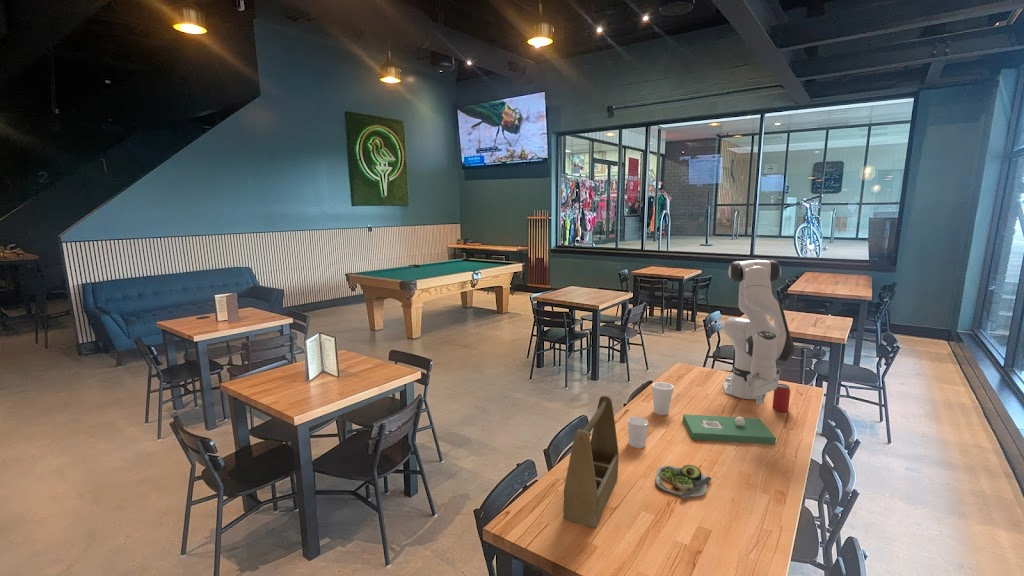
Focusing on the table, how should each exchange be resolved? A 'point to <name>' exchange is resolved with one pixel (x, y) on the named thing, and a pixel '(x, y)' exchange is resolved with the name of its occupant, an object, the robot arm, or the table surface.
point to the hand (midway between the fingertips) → (760, 403)
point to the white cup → (637, 431)
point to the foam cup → (662, 397)
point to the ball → (739, 421)
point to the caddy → (592, 468)
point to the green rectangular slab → (727, 429)
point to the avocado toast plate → (683, 480)
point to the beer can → (781, 398)
